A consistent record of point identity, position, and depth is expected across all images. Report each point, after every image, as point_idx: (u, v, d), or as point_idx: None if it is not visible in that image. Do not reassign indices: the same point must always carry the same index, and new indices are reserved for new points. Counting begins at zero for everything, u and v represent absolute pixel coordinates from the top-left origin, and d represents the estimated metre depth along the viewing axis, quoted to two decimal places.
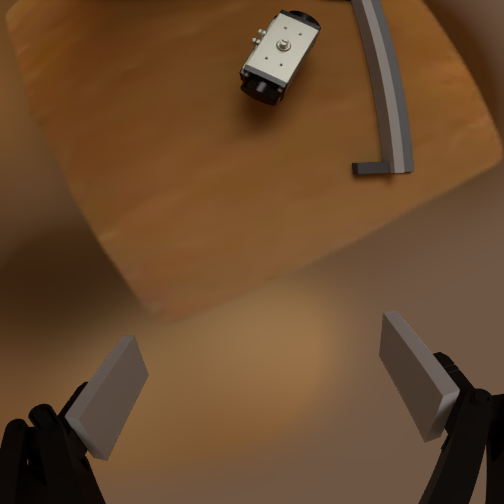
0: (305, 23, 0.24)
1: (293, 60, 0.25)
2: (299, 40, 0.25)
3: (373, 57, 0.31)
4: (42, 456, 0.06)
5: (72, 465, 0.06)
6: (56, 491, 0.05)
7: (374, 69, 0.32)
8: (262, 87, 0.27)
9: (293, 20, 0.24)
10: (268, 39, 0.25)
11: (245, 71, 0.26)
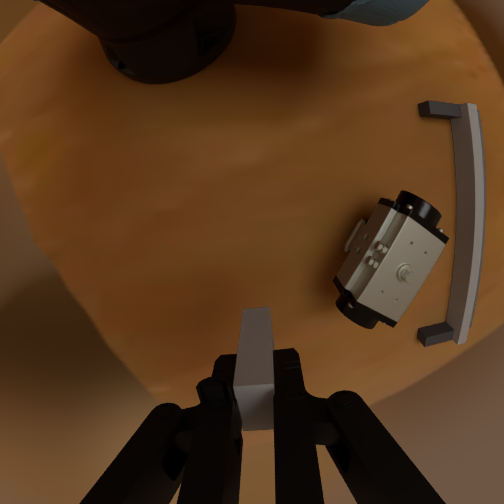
0: (434, 234, 0.20)
1: (410, 292, 0.22)
2: (423, 263, 0.21)
3: (468, 218, 0.28)
4: (194, 431, 0.08)
5: (227, 453, 0.07)
6: (193, 476, 0.06)
7: (465, 231, 0.29)
8: (367, 321, 0.23)
9: (422, 229, 0.20)
10: (388, 263, 0.21)
11: None
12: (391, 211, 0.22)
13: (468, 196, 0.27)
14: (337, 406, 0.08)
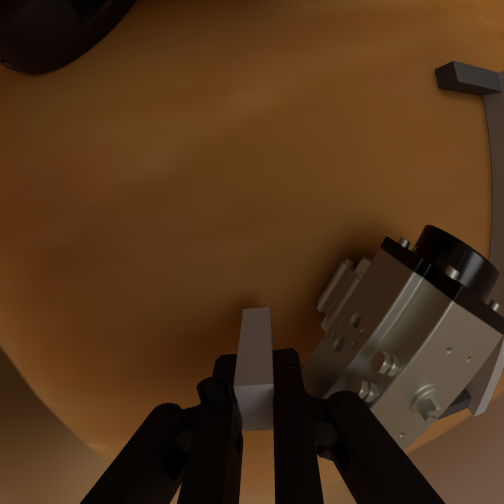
0: (490, 323, 0.08)
1: None
2: (460, 376, 0.09)
3: None
4: (194, 431, 0.08)
5: (227, 453, 0.07)
6: (193, 476, 0.06)
7: (503, 269, 0.17)
8: None
9: (473, 321, 0.08)
10: (397, 392, 0.09)
11: None
12: (412, 279, 0.10)
13: None
14: (336, 406, 0.09)
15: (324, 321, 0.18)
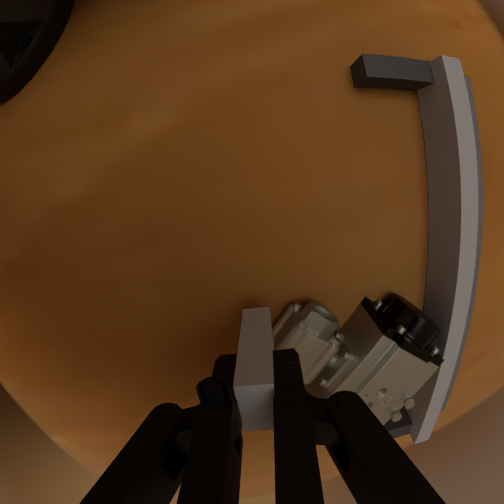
0: None
1: None
2: None
3: (446, 269, 0.16)
4: (194, 431, 0.08)
5: (227, 453, 0.07)
6: (193, 476, 0.06)
7: (440, 289, 0.17)
8: None
9: None
10: None
11: None
12: None
13: (448, 230, 0.16)
14: (337, 406, 0.09)
15: None
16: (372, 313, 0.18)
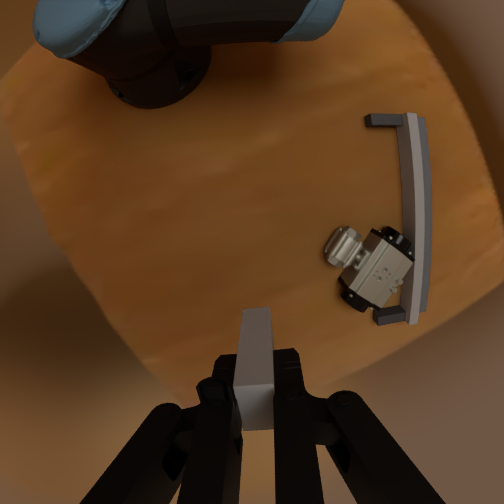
0: None
1: None
2: None
3: (411, 212, 0.36)
4: (194, 431, 0.08)
5: (227, 453, 0.07)
6: (193, 476, 0.06)
7: (409, 224, 0.37)
8: None
9: None
10: None
11: (375, 309, 0.38)
12: (404, 258, 0.35)
13: (410, 193, 0.35)
14: (337, 406, 0.09)
15: (337, 263, 0.37)
16: (376, 233, 0.37)
